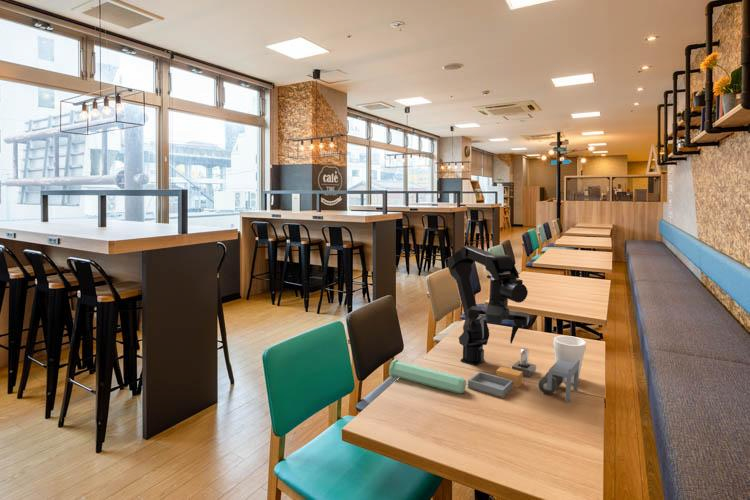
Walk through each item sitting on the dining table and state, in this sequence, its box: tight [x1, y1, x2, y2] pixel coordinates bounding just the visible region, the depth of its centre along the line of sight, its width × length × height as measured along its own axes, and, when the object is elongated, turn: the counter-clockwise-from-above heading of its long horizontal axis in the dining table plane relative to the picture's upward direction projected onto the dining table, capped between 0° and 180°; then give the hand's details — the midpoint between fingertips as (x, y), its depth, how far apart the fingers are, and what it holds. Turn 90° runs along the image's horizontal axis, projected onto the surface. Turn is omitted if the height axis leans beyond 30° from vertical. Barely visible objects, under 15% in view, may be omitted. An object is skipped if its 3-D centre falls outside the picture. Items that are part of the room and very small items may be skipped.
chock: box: [495, 366, 523, 389], centre depth 140 cm, size 7×4×4 cm, turn 52°
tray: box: [467, 371, 514, 399], centre depth 136 cm, size 11×8×2 cm
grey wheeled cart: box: [537, 359, 580, 402], centre depth 133 cm, size 9×10×10 cm
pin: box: [519, 347, 530, 368], centre depth 147 cm, size 2×2×8 cm
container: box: [388, 358, 467, 395], centre depth 139 cm, size 6×6×25 cm
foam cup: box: [553, 335, 587, 384], centre depth 141 cm, size 10×9×13 cm
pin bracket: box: [511, 360, 537, 379], centre depth 147 cm, size 6×6×2 cm
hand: (496, 340), depth 143 cm, fingers open, 9 cm apart
